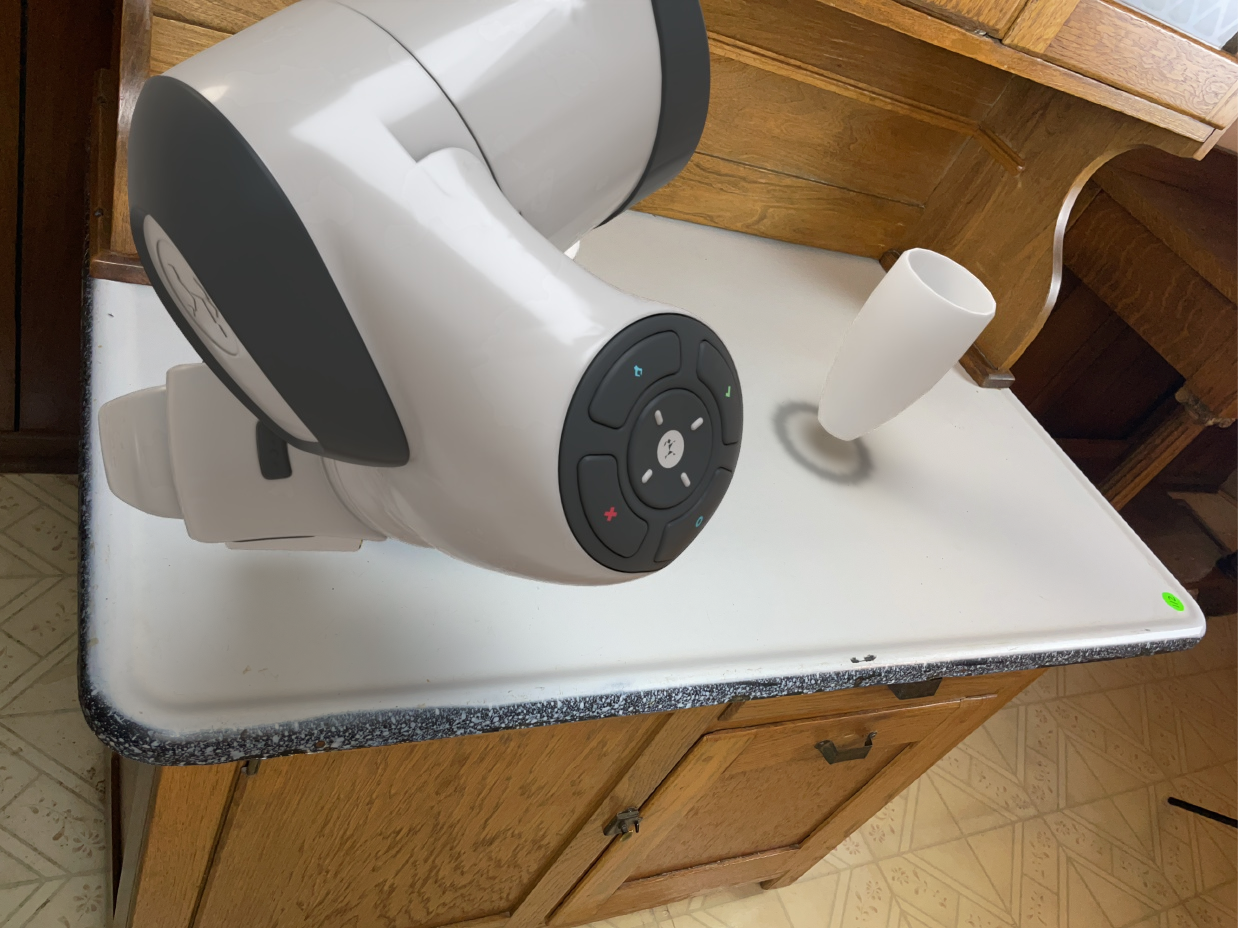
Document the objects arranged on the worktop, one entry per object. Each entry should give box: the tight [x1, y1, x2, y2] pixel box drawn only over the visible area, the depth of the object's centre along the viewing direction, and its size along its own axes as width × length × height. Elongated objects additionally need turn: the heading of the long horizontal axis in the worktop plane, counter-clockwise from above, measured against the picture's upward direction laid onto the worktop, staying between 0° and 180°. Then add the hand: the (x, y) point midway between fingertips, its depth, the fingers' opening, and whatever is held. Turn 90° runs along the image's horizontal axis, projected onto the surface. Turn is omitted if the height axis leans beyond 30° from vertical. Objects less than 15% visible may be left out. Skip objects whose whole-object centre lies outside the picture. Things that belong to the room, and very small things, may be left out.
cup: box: [817, 247, 997, 441], centre depth 83 cm, size 10×10×22 cm
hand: (305, 422), depth 46 cm, fingers closed on medicine bottle, 8 cm apart
